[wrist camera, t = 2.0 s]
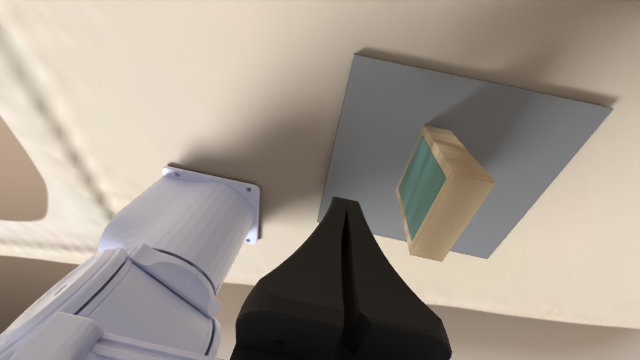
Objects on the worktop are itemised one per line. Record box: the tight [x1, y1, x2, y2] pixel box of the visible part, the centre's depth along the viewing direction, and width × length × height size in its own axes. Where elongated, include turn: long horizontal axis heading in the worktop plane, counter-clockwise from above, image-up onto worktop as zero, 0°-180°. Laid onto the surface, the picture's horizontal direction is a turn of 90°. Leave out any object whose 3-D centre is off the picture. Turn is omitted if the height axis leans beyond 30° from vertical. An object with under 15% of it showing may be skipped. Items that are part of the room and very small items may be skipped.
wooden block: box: [396, 125, 496, 262], centre depth 17 cm, size 2×6×7 cm, turn 170°
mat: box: [317, 54, 613, 259], centre depth 20 cm, size 17×15×1 cm
